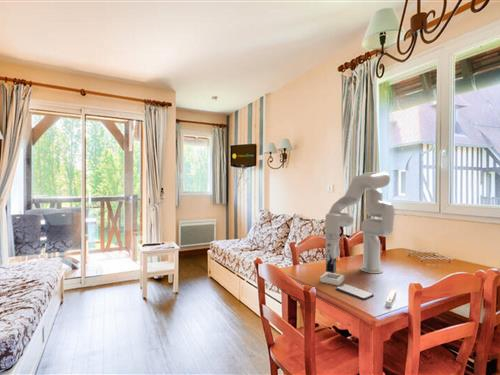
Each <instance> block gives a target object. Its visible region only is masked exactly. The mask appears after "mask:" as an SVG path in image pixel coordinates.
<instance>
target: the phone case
mask: <svg viewBox="0 0 500 375" xmlns="http://www.w3.org/2000/svg"><path fill="white" fill-rule="evenodd" d="M335 290H336V291H338V292H339V293H343V294H346V295H348V296H350V297H353V298H356V299H359V300H361V301H367V300H369V299H371V298H373V297H374V293H371V292H368V291H367V290H364V289H360V288H359V287H358V288H357V287H355V286H352V285H350V284H345V283H343V284H340V285H339V286H336V287H335Z"/></svg>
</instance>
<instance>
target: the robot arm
mask: <svg viewBox="0 0 500 375" xmlns="http://www.w3.org/2000/svg"><path fill="white" fill-rule="evenodd" d="M390 181H391V177H390V175H389V173H388V172H385V171H370V172H369V171H368V172H364V173H362V174H359V175H355V176H354V177H353V178H352V180H351V182H350V184H349V186H348V188H347V190H346V192H345V194H344V195H343V196H342V197H340V198H339V199H338V200H337V201H335V202H334V203H333V204H332V205H331V208H330V209H329V211H328V213H326V214H325V220H324V221H325V222H324V223H325V224H324V231H325V232H324V240H325V251H324V254H325V258H326V260H327V271H331V272H333V259H334V260H336V261H337V258H338V257H339V256H340V237H341V236H340V235H341V234H340V230H341V229H340V228H341V227H343V228H347V227H350V226H352V225H353V223H354V217H353V215H351V214H350V213H348V212H342V211H343V210H344V209H347V208H348V207H351V206H354V205H357V204H358V203H359V202H361V199H362V196H363V194H364V193H365V190H366V193H367V195H366V206H365V207H366V208H365V212H366V214H367V216H369V217H372V218H365V219H364V220H363V221H362V223H361V230H362V231H361V232H362V238H363V239H362V241H363V242H362V243H363V244H362V245H363V246H362V247H363V251H362V252H363V253H362V254H363V255H362V257H363V258H362V266H360V267H359V268H360V270H361V271H363V273H364V272H365V273H369V274H381V273H384V272H383V271H384V270H383V268H382V267H381V240H380V238H379V237H384V238H386V237H391V235H392V233H393V230H394V222H395V221H394V220H395V208H394V205H393V204H392V203H391V202H388V201H383V192H382V190H381V189H382V188H384V187H387V186H388V185H389V184H390ZM376 218H377V219H376ZM378 218H380V219H378ZM330 259H331V260H330Z"/></svg>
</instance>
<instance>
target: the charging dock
mask: <svg viewBox="0 0 500 375" xmlns="http://www.w3.org/2000/svg"><path fill="white" fill-rule="evenodd" d="M396 296H397V290H395V289H390V291H389V294H388V296H387V298H386V300H385V307H386V308H392V307H393V304H394V301H395V300H396Z"/></svg>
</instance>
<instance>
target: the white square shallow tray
mask: <svg viewBox="0 0 500 375" xmlns="http://www.w3.org/2000/svg"><path fill="white" fill-rule="evenodd" d="M344 281H345V274H341V273H336V272H335V273H330V272H326V271H325V272H324V273H323V274H322V275H320V276H319V283H322V284H326V285H331V286H334V287H335V286H336V287H338V286H341V285H342V284H343V283H344Z"/></svg>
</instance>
